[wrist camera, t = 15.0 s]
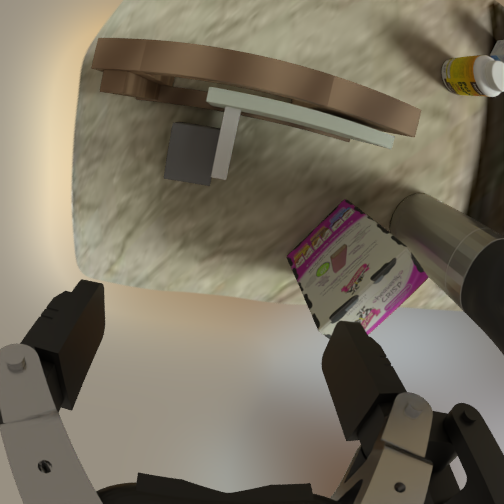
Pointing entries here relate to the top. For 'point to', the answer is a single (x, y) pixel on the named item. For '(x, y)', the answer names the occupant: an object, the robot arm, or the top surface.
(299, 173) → the top surface
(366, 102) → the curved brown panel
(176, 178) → the block
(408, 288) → the candy bar box
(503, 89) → the supplement bottle
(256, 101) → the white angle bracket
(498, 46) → the medicine box
